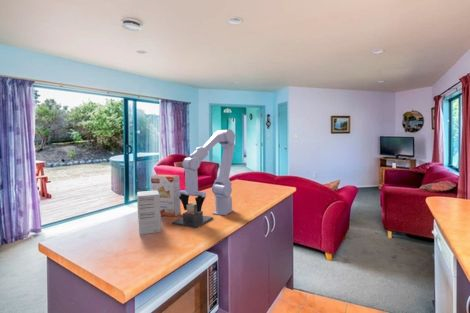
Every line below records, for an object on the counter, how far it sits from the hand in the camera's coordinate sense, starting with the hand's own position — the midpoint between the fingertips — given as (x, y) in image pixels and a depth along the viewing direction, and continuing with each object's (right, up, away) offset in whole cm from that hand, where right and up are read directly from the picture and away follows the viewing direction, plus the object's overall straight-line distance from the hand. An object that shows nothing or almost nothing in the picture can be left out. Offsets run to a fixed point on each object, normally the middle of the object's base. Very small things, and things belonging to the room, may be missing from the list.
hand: (192, 210), depth 127 cm
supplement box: (-17, -7, -10) cm, 21 cm away
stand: (0, -5, 0) cm, 5 cm away
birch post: (0, -4, 0) cm, 4 cm away
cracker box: (-16, -5, +13) cm, 21 cm away
